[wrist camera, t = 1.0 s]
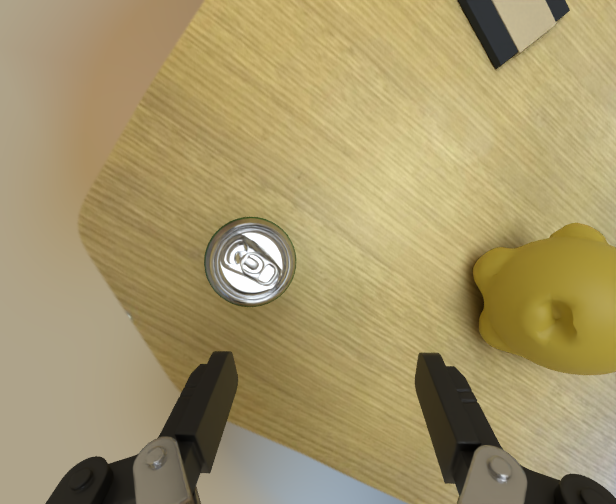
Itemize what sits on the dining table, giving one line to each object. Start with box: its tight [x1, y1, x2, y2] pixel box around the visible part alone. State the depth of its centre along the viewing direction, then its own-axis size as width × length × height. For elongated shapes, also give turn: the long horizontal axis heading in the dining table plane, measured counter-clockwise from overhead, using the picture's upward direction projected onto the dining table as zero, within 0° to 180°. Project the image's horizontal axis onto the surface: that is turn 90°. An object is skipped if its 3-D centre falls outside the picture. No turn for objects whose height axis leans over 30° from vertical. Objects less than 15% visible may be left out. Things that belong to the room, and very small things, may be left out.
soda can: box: [204, 217, 296, 307], centre depth 21 cm, size 5×5×12 cm
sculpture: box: [473, 223, 616, 375], centre depth 28 cm, size 15×13×13 cm
